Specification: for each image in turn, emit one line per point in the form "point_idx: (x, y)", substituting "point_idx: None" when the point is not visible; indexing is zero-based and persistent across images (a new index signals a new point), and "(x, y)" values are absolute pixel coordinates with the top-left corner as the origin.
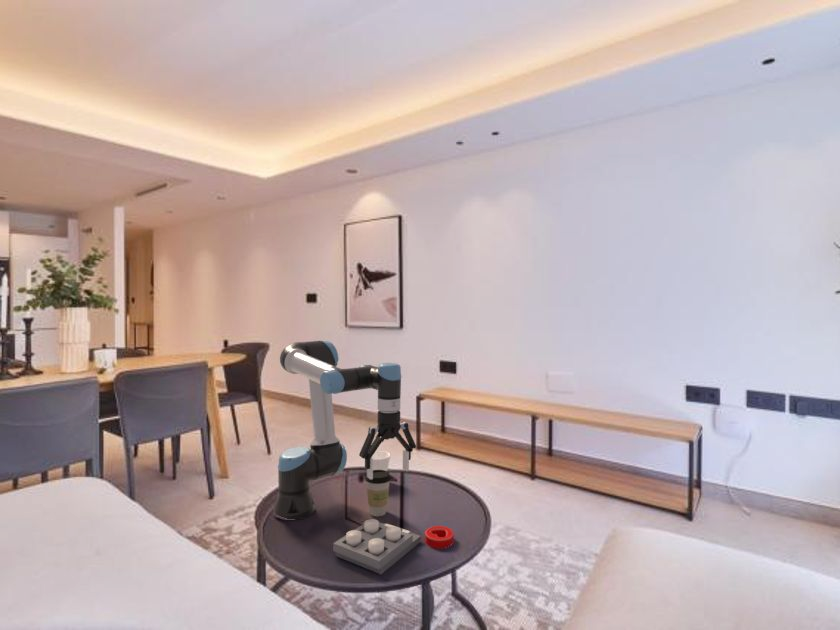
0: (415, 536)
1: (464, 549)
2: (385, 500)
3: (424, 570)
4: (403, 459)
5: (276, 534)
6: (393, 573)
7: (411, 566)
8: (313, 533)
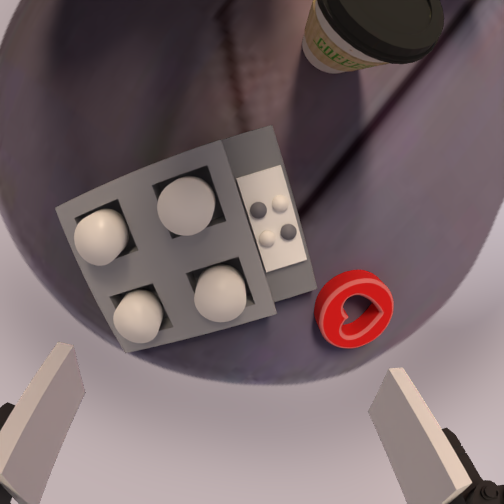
0: (304, 282)
1: (358, 359)
2: (358, 69)
3: (232, 371)
4: (415, 433)
5: (29, 19)
6: None
7: (217, 347)
8: (89, 48)
